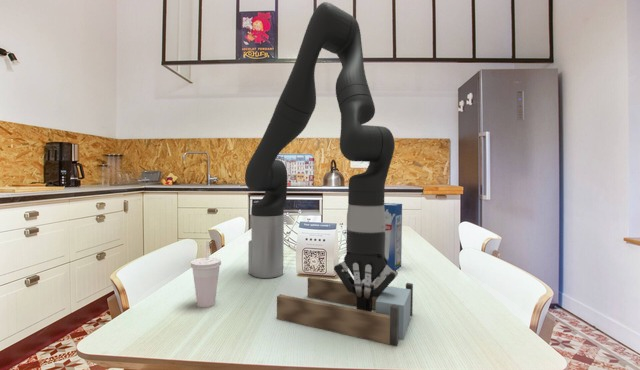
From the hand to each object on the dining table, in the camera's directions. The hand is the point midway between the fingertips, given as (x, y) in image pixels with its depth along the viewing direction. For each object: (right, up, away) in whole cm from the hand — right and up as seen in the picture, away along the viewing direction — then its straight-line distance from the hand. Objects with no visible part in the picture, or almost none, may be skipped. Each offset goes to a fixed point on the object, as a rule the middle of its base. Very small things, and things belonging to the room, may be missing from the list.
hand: (364, 314), depth 66 cm
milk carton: (+11, 0, +39) cm, 41 cm away
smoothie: (-34, -1, +8) cm, 35 cm away
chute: (-4, -1, +2) cm, 4 cm away
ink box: (+5, -1, +17) cm, 18 cm away
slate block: (+5, -1, -2) cm, 6 cm away
